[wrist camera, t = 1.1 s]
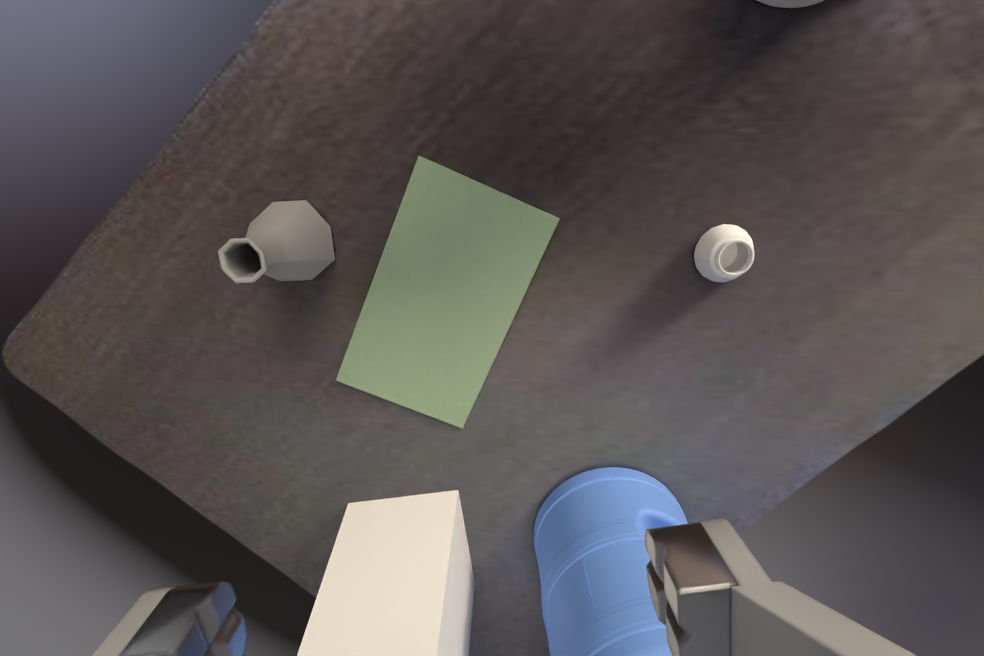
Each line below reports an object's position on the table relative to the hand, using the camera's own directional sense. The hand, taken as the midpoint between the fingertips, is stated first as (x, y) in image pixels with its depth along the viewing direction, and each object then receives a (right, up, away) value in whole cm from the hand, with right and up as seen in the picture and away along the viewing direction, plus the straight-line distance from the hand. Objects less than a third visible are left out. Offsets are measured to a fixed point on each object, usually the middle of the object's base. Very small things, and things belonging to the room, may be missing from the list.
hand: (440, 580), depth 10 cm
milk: (-7, -18, +44) cm, 49 cm away
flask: (-16, +13, +35) cm, 40 cm away
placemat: (-3, +7, +36) cm, 37 cm away
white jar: (+21, +12, +35) cm, 43 cm away
